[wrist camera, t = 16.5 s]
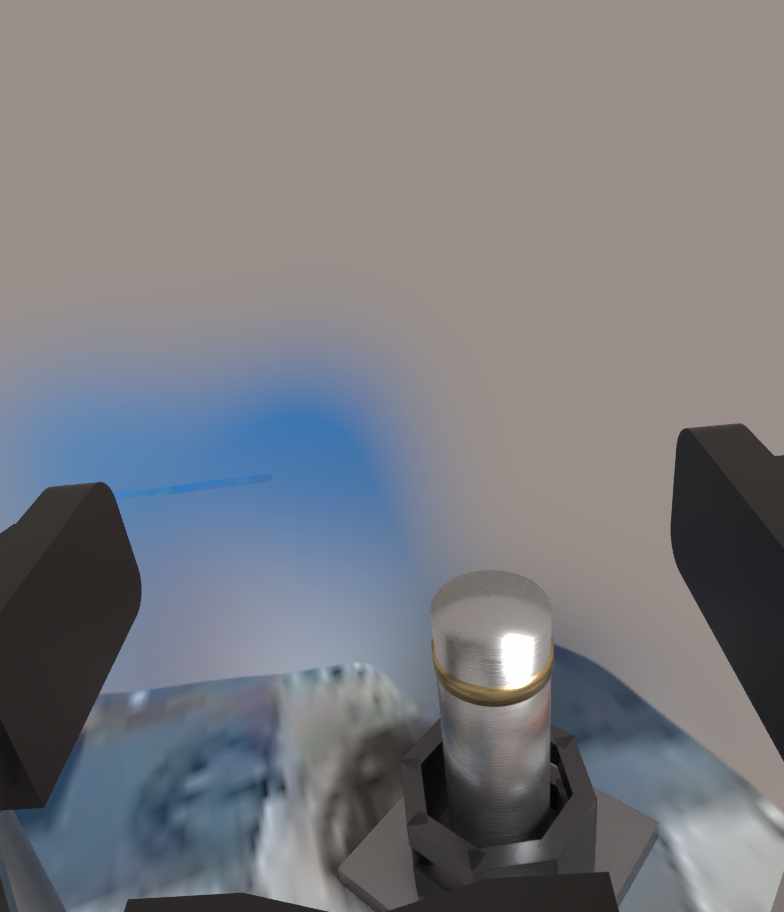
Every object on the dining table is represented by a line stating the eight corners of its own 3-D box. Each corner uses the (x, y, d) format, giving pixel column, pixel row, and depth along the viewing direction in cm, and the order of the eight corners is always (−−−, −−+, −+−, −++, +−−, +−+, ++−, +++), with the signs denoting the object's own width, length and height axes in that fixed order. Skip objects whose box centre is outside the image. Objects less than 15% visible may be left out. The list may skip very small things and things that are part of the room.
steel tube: (430, 856, 39) (403, 619, 31) (486, 785, 42) (473, 555, 34) (517, 918, 35) (510, 670, 28) (569, 836, 39) (576, 595, 31)
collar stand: (340, 882, 39) (322, 803, 36) (472, 734, 47) (465, 658, 44) (540, 1045, 32) (537, 961, 29) (657, 837, 40) (664, 754, 37)
